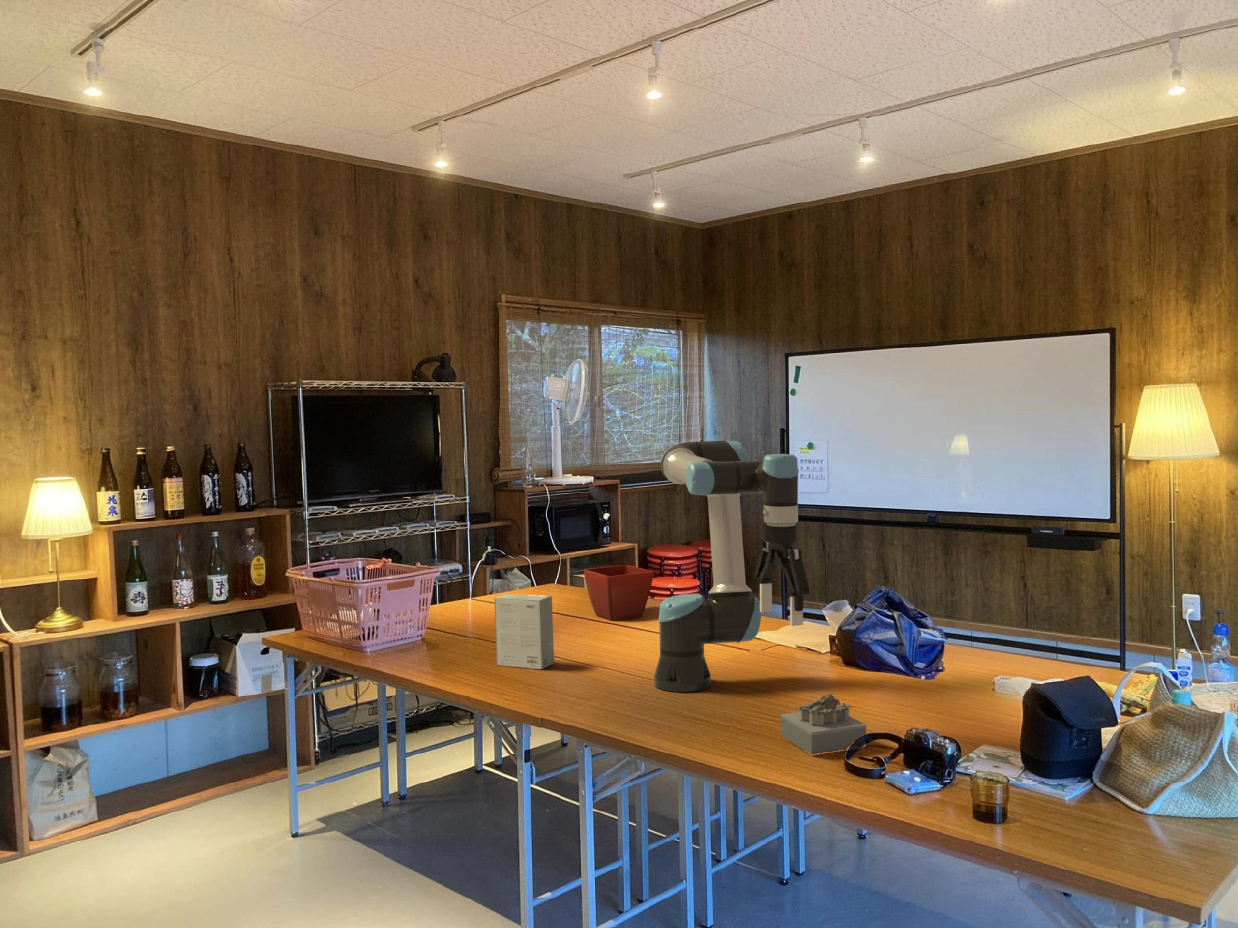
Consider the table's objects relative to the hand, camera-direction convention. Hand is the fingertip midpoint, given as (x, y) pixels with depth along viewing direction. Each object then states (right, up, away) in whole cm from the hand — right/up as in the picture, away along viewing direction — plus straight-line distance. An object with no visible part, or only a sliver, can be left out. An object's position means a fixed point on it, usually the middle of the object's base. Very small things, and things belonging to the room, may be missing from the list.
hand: (780, 618), depth 209 cm
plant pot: (-36, -21, +129) cm, 135 cm away
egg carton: (+8, -20, -9) cm, 24 cm away
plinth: (+8, -25, -9) cm, 28 cm away
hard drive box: (-63, -24, +62) cm, 92 cm away
